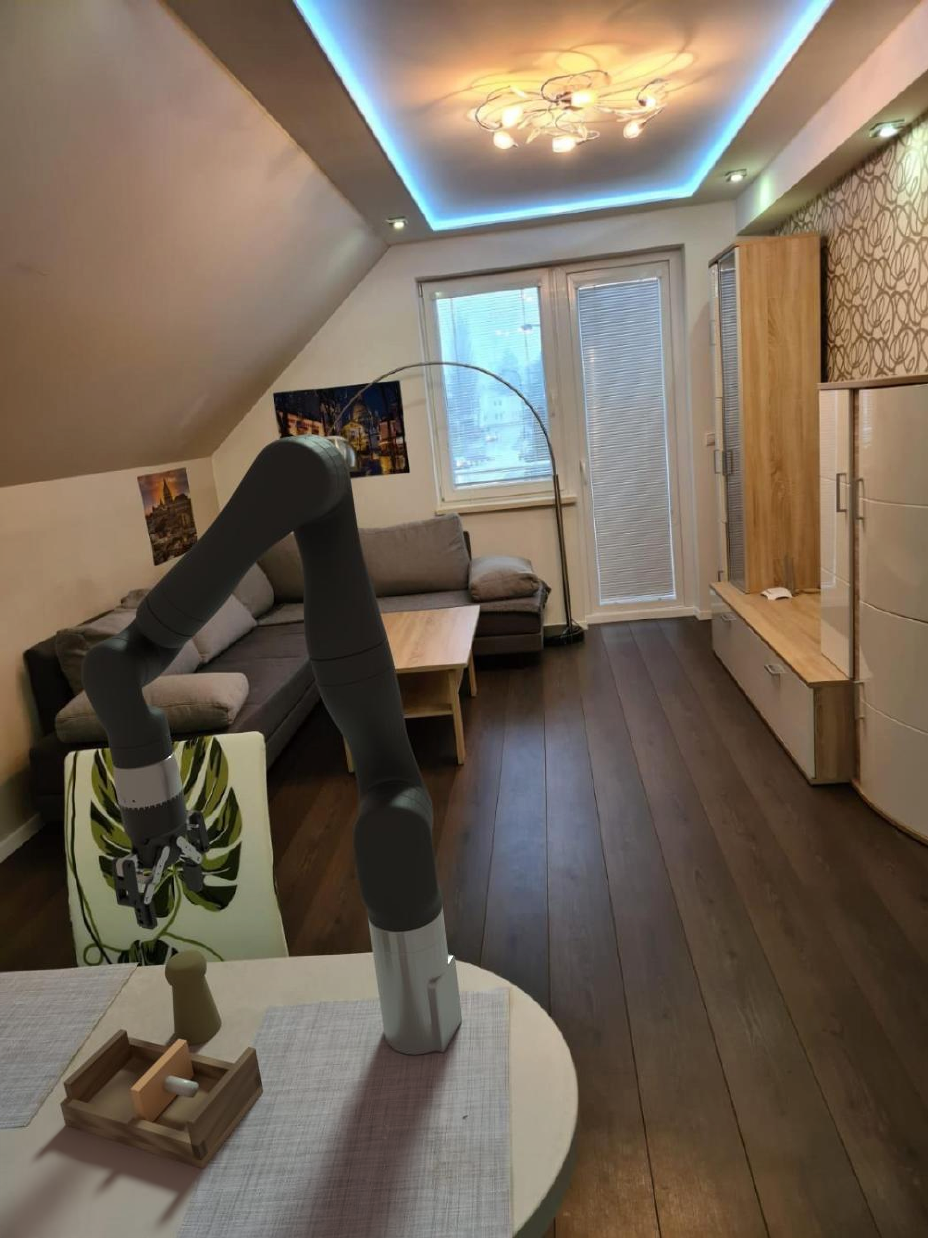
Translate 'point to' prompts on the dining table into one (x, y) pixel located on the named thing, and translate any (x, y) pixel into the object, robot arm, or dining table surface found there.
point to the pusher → (164, 1082)
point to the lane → (185, 1122)
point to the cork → (192, 998)
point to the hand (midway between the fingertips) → (173, 908)
